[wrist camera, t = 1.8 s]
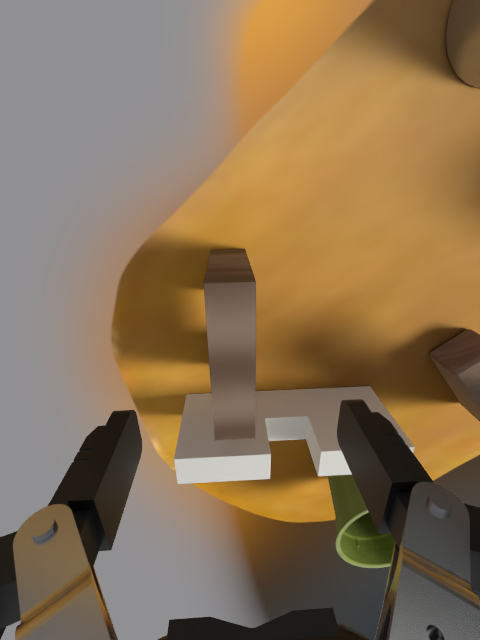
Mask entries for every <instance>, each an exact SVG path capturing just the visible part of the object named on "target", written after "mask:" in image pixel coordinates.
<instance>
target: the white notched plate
mask: <svg viewBox="0 0 480 640" xmlns="http://www.w3.org/2000/svg"><path fill="white" fill-rule="evenodd" d="M353 399H362V400H364V401H365V403H366V404H367V406H368V407H369V409H370V410H371V412H379V413H380V414H381V415H383V416H384V417H385V418H386V419H388V420H389V421H390V422H391V423H392V425H393V426H394V427H395V429H396V430H397V432H398V434H399V435H400V436H401V437H402V439H403V440H404V441H405V444H406V445H407V446H408V447H409V448H410V450H411V451H412V453H413V451H414V448H415V447H414V445H413V444H412V443H411V441H410V440H409V438H408V437H407V436H406V434H405V433H404V432H403V430H402V429H401V428H400V426H399V425H398V424H397V422H396V421H395V419H394V418H393V417H392V415H391V414H390V413H389V411H388V410H387V409H386V407H385V406H384V405H383V403H382V402H381V400H380V399H379V398H378V396H377V395H376V394H375V392H374V391H373V390H372V388H371V387H370V386H362V387H340V388H317V389H294V390H271V391H255V438H252V439H232V440H215V436H214V422H213V408H212V394H211V393H202V394H186V400H185V405H184V410H183V415H182V421H181V426H180V431H179V436H178V442H177V447H176V452H175V457H174V461H175V468H176V475H177V481H178V484H183V483H184V484H185V483H204V482H222V481H241V480H259V479H270V470H271V451H270V445H269V441H278V440H299V439H306V441H307V444H308V447H309V450H310V453H311V456H312V459H313V462H314V466H315V469H316V472H317V475H318V476H333V475H352V473H351V471H350V469H349V467H348V464H347V462H346V460H345V458H344V455H343V453H342V451H341V449H340V446H339V443H338V439H337V425H338V418H339V411H340V404H341V401H342V400H353Z"/></svg>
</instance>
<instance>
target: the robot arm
mask: <svg viewBox="0 0 480 640" xmlns="http://www.w3.org/2000/svg"><path fill="white" fill-rule="evenodd" d="M446 45H447V53H448V57H449V60H450V63H451V66H452V68H453V69H454V71H455V73H456V74H457V76H458V77H459V78H460V79H462V80H463V81H464V82H465V83H467V84H469V85H471V86H473V87H477V88H480V0H454V1H453V4H452V6H451V9H450V13H449V18H448V23H447V31H446ZM337 439H338V443H339V446H340V449H341V451H342V453H343V455H344V458H345V460H346V462H347V464H348V467H349V469H350V471H351V473H352V476H353V478H354V480H355V482H356V485H357V487H358V489H359V491H360V494H361V496H362V498H363V500H364V503H365V505H366V507H367V509H368V511H369V514H370V516H371V518H372V520H373V523H374V525H375V527H376V529H377V532H378V534H384V533H391V535H392V537H393V539H394V541H395V546H394V549H393V555H392V560H391V565H390V570H389V576H388V581H387V586H386V591H385V596H384V602H383V607H382V611H381V616H380V620H379V624H378V628H377V632H376V637H375V640H480V604H479V598H478V596H477V594H476V593H475V592H474V591H472V590H475V591H478V592H480V508H479V507H475V506H470V505H467V504H464V503H463V502H462V501H461V500H460V498H459V497H457V496H456V495H455V494H454V493H453V492H451V491H450V490H449V489H447V488H445V487H443V486H441V485H439V484H436V483H434V482H433V481H432V479H431V478H430V476H429V475H428V474H427V472H426V471H425V469H424V468H423V467H422V465H421V464H420V462H419V461H418V460H417V458H416V457H415V455H414V454H413V453H412V451H411V450H410V448H409V447H408V446H407V445H406V444H405V441H404V440H403V439H402V437H401V436H400V435H399V434H398V432H397V430H396V429H395V427H394V426H393V425H392V423H391V422H390V421H389V420H388V419H386V418H385V417H384V416H383V415H381V414H380V413H379V412H371V410H370V409H369V407H368V406H367V404H366V403H365V401H364V400H362V399H353V400H342V401H341V404H340V411H339V418H338V425H337ZM141 452H142V439H141V434H140V429H139V425H138V420H137V415H136V412H135V411H134V410H127V411H126V410H125V411H114V412H113V413H112V414H111V416H110V418H109V420H108V422H107V424H106V426H98V427H97V428H96V429H95V430H94V431H92V432H91V433H90V434H89V435H88V436H87V437H86V439H85V441H84V442H83V444H82V446H81V448H80V451H79V452H78V453H77V455H76V457H75V459H74V462H73V463H72V464H71V466H70V467H69V469H68V471H67V473H66V475H65V476H64V478H63V480H62V482H61V483H60V485H59V487H58V489H57V491H56V492H55V494H54V496H53V498H52V500H51V501H50V503H49V505H48V506H47V507H45V508H43V509H41V510H39V511H38V512H36V513H34V514H33V515H32V516H31V517H29V518H28V519H27V520H26V521H25V522H24V523H23V524H22V526H21V527H20V528H19V530H18V531H16V532H14V533H11V534H8V535H5V536H3V537H0V639H1V637H2V635H3V633H4V630H5V628H6V626H8V625H11V624H13V623H15V622H17V621H20V620H21V624H20V625H18V626H17V628H16V632H15V640H118V639H117V636H116V633H115V630H114V627H113V624H112V621H111V618H110V615H109V612H108V609H107V606H106V603H105V599H104V596H103V594H102V590H101V588H100V584H99V581H98V578H97V575H96V572H95V569H94V563H95V560H96V557H97V554H98V552H99V551H106V550H111V549H112V545H113V542H114V539H115V536H116V533H117V530H118V527H119V523H120V520H121V517H122V514H123V511H124V507H125V505H126V501H127V498H128V495H129V491H130V489H131V486H132V482H133V479H134V476H135V473H136V470H137V467H138V464H139V460H140V457H141ZM471 589H472V590H471ZM158 640H369V639H368V638H367V637H365V636H364V635H363V634H361V633H359V632H358V631H356V630H354V629H352V628H350V627H348V626H346V625H343V624H340V623H337V622H336V618H335V615H334V610H333V608H323V609H310V610H296V611H291V612H289V613H287V614H285V615H283V616H280V617H278V618H276V619H274V620H272V621H269V622H267V623H265V624H263V625H261V626H258V627H256V628H248V627H244V626H241V625H237V624H233V623H230V622H226V621H223V620H219V619H216V618H212V617H202V618H188V619H174V620H169V627H168V634H167V636H164V637H162V638H160V639H158Z"/></svg>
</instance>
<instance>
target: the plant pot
mask: <svg viewBox="0 0 480 640" xmlns="http://www.w3.org/2000/svg"><path fill="white" fill-rule="evenodd" d="M328 479H329V485H330V490H331V495H332V500H333V505H334V510H335V515H336V520H335V522H336V528H337V537H336V549H337V552H338V554H339V555H340V556H341V558H342V559H343V560H345V561H346V562H348V563H350V564H352V565H355V566H359V567H365V568H381V567H388V566H390V565H391V560H392V555H393V549H394V546H395V541H394V539H393V537H392V535H391V533H384V534H378V532H377V529H376V527H375V525H374V523H373V520H372V518H371V516H370V514H369V511H368V509H367V507H366V505H365V503H364V500H363V498H362V496H361V494H360V491H359V489H358V487H357V485H356V482H355V480H354V478H353V476H352V475H333V476H328Z"/></svg>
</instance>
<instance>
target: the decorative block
mask: <svg viewBox="0 0 480 640" xmlns="http://www.w3.org/2000/svg"><path fill="white" fill-rule="evenodd" d="M429 356H430V357H431V359H432V360H433V362H434V364H435V365H436V367H437V368H438V370H439V371H440V373H441V374H442V376H443V377H444V379H445V381H446V382H447V384H448V385H449V387H450V388H451V390H452V391H453V393H454V394H455V396H456V397H457V399H458V401H459V402H460V404H461V405H462V406H463V407H464V408H466V409H467V410H468V411H469V412H470V413H471V414H472V415H473V416H474V417H475V418H476V419H478V420H479V421H480V335H479V334H478V333H476V332H474V331H472V330H469V329H467V330H465V331H464V332H462V333H460V334H459V335H457V336H456V337H454V338H453V339H451V340H449V341H448V342H446V343H445V344H443V345H441V346H440V347H438V348H437V349H435V350H433V351H432V352H430V355H429Z"/></svg>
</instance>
